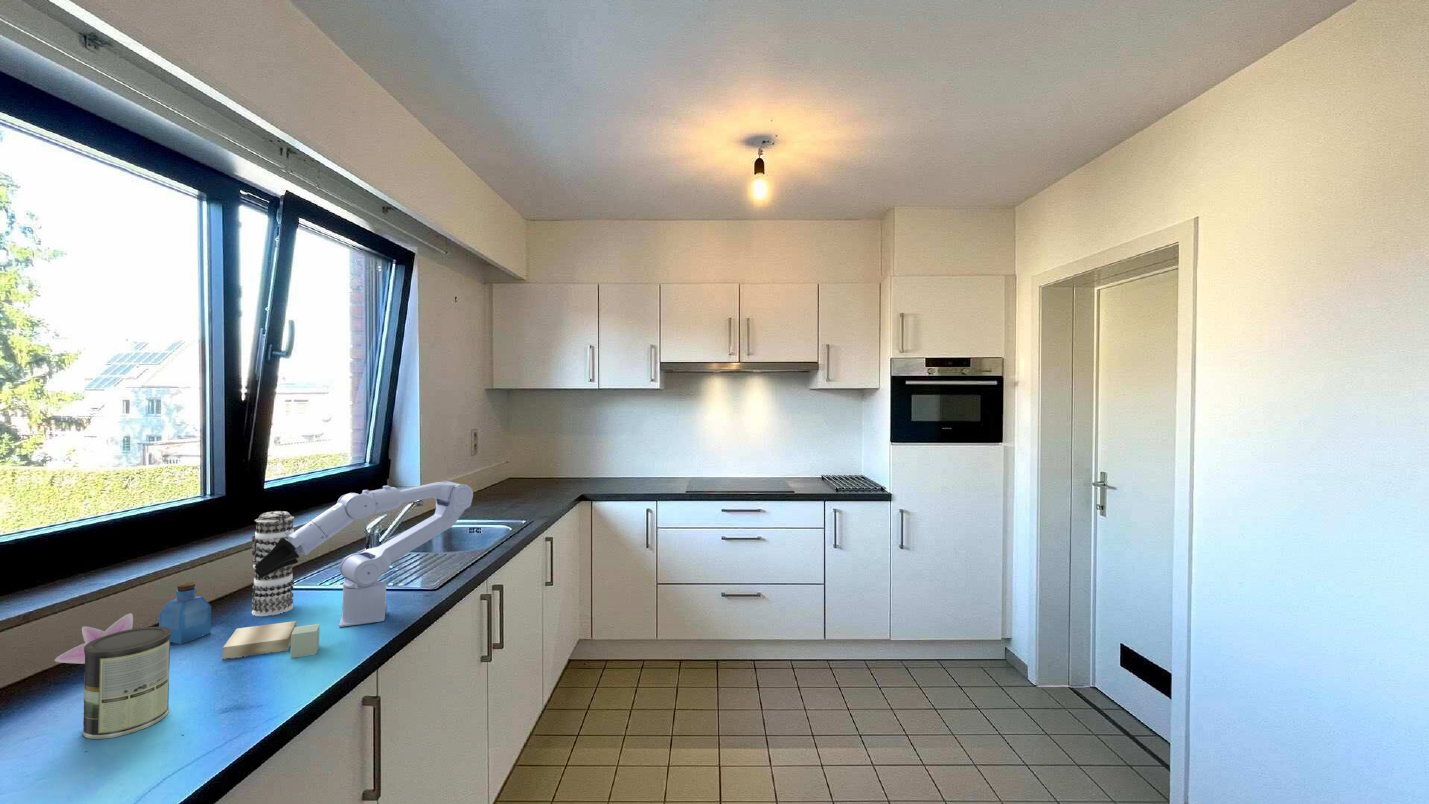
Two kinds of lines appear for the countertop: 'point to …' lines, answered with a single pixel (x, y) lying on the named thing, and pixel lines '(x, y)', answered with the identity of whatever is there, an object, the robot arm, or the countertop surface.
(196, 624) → the perfume bottle
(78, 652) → the lily
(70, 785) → the countertop surface
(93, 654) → the coffee can
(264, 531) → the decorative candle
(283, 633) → the birch slab
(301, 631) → the sage block
